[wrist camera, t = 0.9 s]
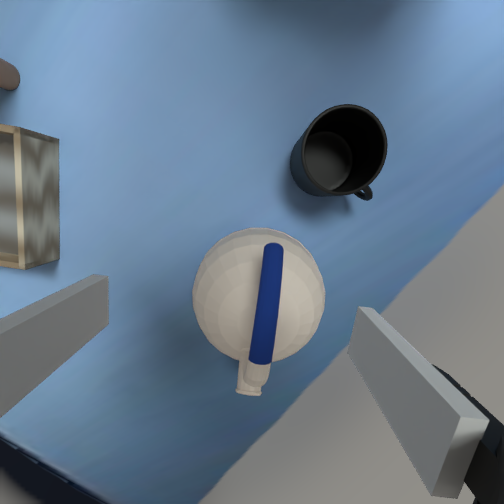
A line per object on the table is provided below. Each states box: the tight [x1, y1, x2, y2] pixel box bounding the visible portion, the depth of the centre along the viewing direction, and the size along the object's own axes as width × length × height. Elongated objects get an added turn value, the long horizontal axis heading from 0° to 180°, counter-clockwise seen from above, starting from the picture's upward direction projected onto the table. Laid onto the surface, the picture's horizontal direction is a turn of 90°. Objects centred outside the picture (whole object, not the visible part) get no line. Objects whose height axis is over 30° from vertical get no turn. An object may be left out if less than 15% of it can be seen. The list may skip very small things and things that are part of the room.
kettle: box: [192, 228, 325, 396], centre depth 31 cm, size 20×21×18 cm
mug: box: [290, 104, 387, 201], centre depth 31 cm, size 9×12×9 cm
